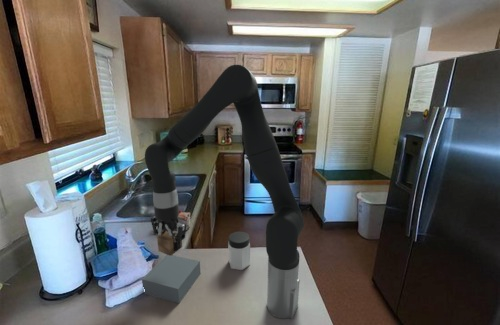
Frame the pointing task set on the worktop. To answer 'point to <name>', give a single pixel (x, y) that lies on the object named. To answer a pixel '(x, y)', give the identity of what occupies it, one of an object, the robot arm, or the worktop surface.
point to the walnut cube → (166, 243)
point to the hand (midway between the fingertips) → (170, 247)
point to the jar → (239, 250)
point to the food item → (184, 218)
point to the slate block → (171, 278)
